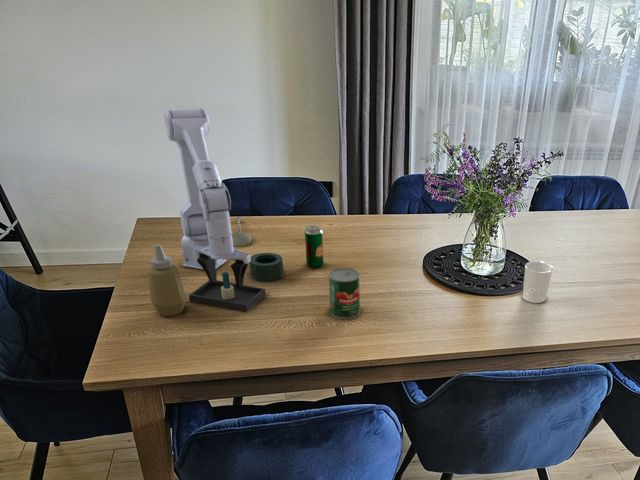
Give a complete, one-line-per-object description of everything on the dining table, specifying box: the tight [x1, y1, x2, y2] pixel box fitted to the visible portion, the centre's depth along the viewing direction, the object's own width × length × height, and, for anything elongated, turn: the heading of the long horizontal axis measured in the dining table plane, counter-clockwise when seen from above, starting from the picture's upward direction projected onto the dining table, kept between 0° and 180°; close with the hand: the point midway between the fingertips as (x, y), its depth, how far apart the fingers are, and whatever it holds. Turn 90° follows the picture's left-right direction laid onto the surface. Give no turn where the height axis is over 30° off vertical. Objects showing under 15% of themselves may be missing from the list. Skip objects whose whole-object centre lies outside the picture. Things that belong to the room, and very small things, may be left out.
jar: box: [248, 252, 284, 283], centre depth 176 cm, size 9×9×5 cm
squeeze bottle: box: [147, 243, 187, 317], centre depth 150 cm, size 8×8×18 cm
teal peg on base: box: [221, 271, 235, 299], centre depth 161 cm, size 3×3×7 cm
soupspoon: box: [232, 216, 252, 247], centre depth 200 cm, size 22×3×7 cm
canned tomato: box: [328, 267, 361, 320], centre depth 159 cm, size 8×8×11 cm
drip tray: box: [188, 280, 267, 313], centre depth 163 cm, size 16×10×2 cm, turn 78°
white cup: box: [522, 260, 554, 304], centre depth 176 cm, size 8×8×10 cm
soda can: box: [304, 225, 325, 269], centre depth 182 cm, size 5×5×12 cm
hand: (226, 283), depth 161 cm, fingers open, 7 cm apart
